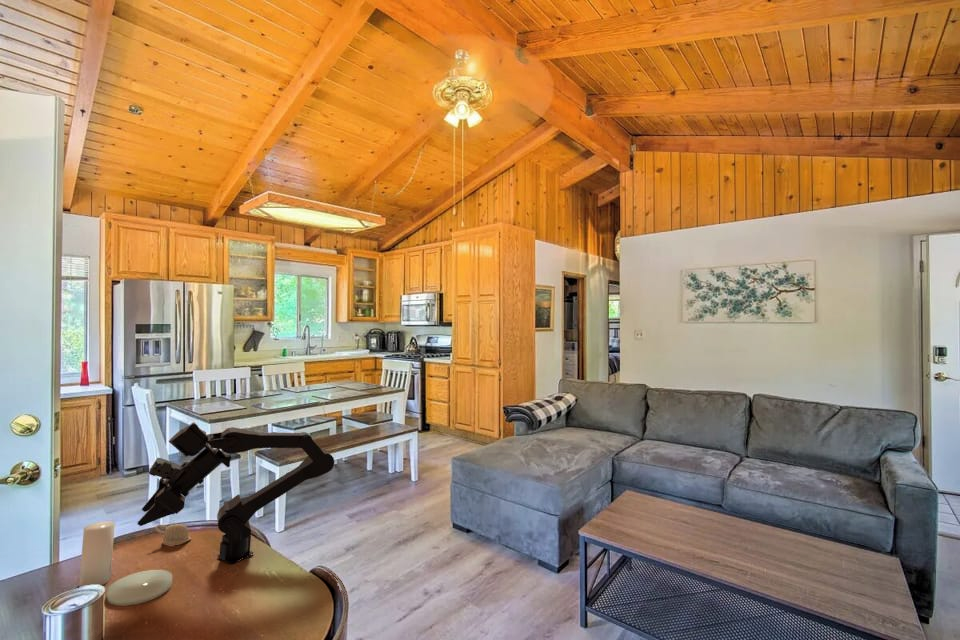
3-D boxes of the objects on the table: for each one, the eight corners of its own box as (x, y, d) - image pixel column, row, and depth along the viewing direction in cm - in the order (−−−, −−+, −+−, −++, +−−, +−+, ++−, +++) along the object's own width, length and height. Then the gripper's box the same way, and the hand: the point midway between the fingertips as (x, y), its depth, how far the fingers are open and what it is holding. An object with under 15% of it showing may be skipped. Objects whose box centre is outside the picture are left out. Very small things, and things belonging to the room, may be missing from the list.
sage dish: (155, 570, 111) (156, 564, 112) (182, 586, 106) (183, 579, 106) (96, 594, 101) (97, 587, 101) (122, 612, 95) (123, 605, 95)
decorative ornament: (186, 545, 125) (187, 526, 125) (152, 547, 123) (153, 527, 123) (191, 539, 129) (193, 520, 129) (159, 540, 127) (160, 521, 127)
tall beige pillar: (103, 573, 109) (108, 519, 110) (114, 580, 107) (119, 524, 107) (74, 583, 104) (79, 527, 105) (85, 591, 102) (90, 533, 102)
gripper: (176, 438, 121) (120, 484, 115) (172, 456, 105) (106, 510, 99) (207, 466, 125) (154, 511, 119) (208, 487, 109) (146, 541, 103)
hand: (141, 517), depth 110 cm, fingers open, 9 cm apart
